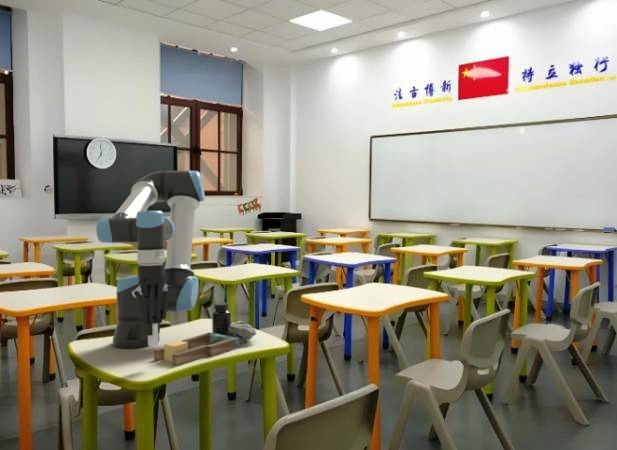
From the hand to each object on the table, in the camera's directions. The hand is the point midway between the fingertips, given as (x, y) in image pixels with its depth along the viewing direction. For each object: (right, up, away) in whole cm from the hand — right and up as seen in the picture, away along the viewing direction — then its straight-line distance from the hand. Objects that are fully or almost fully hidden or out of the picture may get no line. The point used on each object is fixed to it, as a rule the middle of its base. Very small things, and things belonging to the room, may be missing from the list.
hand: (153, 345), depth 146 cm
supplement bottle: (+14, -5, +32) cm, 36 cm away
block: (+5, -6, +7) cm, 11 cm away
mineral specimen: (+22, -5, +26) cm, 34 cm away
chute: (+9, -6, +13) cm, 17 cm away
